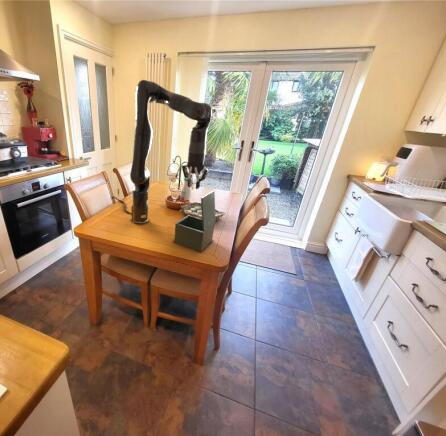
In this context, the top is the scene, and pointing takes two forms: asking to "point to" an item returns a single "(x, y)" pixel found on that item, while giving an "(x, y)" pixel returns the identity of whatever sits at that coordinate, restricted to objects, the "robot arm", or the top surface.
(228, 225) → the top surface
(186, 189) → the milk bottle
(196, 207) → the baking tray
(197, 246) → the bin
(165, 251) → the top surface
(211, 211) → the bin lid
